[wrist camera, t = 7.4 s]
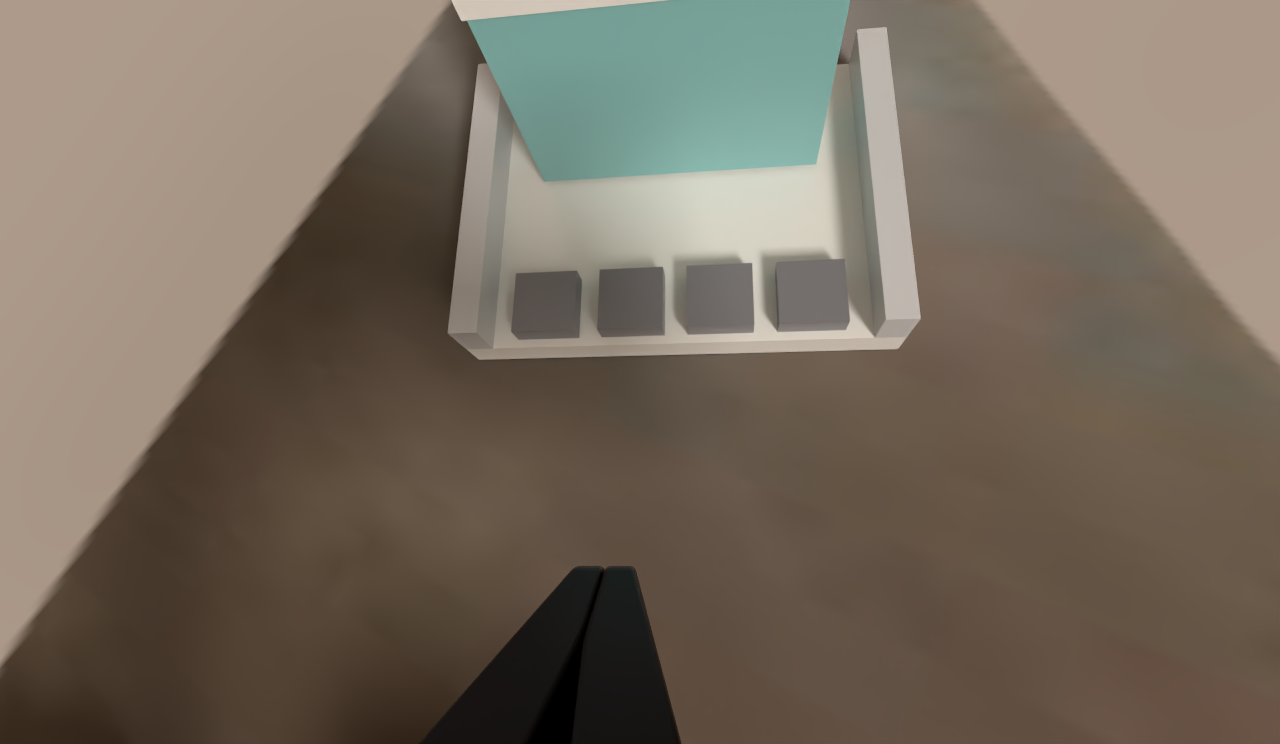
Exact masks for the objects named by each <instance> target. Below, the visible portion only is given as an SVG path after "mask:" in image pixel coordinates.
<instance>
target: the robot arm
mask: <svg viewBox="0 0 1280 744" xmlns="http://www.w3.org/2000/svg"><path fill="white" fill-rule="evenodd" d="M419 744H681V740H680V736H679V733H678V729H677V725H676V721H675V717H674V714H673V710H672V706H671V702H670V698H669V695H668V691H667V687H666V683H665V679H664V676H663V672H662V668H661V664H660V660H659V656H658V653H657V649H656V645H655V641H654V637H653V634H652V630H651V626H650V622H649V618H648V615H647V611H646V607H645V603H644V599H643V596H642V592H641V588H640V584H639V580H638V577H637V573H636V570H635V568H634V567H632V566H609V567H607V568H606V569H604V568H603V567H601V566H578V567H575V568H574V569H572V570H571V571H570V572H569V574H568V575H567V576H566V577H565V578H564V579H563V580H562V582H561V583H560V584H559V585H558V586H557V587H556V588H555V590H554V591H553V592H552V593H551V594H550V595H549V596H548V597H547V599H546V600H545V601H544V602H543V603H542V604H541V605H540V607H539V608H538V609H537V610H536V611H535V612H534V613H533V615H532V616H531V617H530V618H529V619H528V620H527V621H526V622H525V624H524V625H523V626H522V627H521V628H520V629H519V630H518V632H517V633H516V634H515V635H514V636H513V637H512V638H511V640H510V641H509V642H508V643H507V644H506V645H505V646H504V648H503V649H502V650H501V651H500V652H499V653H498V654H497V655H496V657H495V658H494V659H493V660H492V661H491V662H490V663H489V665H488V666H487V667H486V668H485V669H484V670H483V671H482V673H481V674H480V675H479V676H478V677H477V678H476V679H475V680H474V682H473V683H472V684H471V685H470V686H469V687H468V688H467V690H466V691H465V692H464V693H463V694H462V695H461V696H460V698H459V699H458V700H457V701H456V702H455V703H454V704H453V705H452V707H451V708H450V709H449V710H448V711H447V712H446V713H445V715H444V716H443V717H442V718H441V719H440V720H439V721H438V723H437V724H436V725H435V726H434V727H433V728H432V729H431V730H430V732H429V733H428V734H427V735H426V736H425V737H424V738H423V740H422V741H421V742H420V743H419Z"/></svg>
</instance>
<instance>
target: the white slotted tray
mask: <svg viewBox="0 0 1280 744" xmlns="http://www.w3.org/2000/svg"><path fill="white" fill-rule="evenodd" d="M920 319H921V317H920V309H919V300H918V292H917V283H916V275H915V266H914V258H913V249H912V241H911V232H910V224H909V215H908V207H907V198H906V190H905V181H904V173H903V164H902V156H901V147H900V138H899V130H898V121H897V113H896V104H895V96H894V87H893V79H892V70H891V62H890V53H889V45H888V36H887V28H886V27H881V28H870V29H859V30H857V32H856V36H855V40H854V44H853V49H852V53H851V57H850V62H849V64H838V65H837V66H836V71H835V76H834V81H833V86H832V90H831V95H830V100H829V105H828V110H827V115H826V119H825V124H824V129H823V134H822V139H821V143H820V148H819V153H818V158H817V163H816V164H813V165H797V166H781V167H766V168H750V169H734V170H719V171H703V172H687V173H672V174H656V175H640V176H625V177H609V178H593V179H578V180H562V181H546V182H544V180H543V178H542V176H541V174H540V172H539V169H538V167H537V165H536V163H535V161H534V159H533V157H532V155H531V153H530V151H529V149H528V147H527V145H526V142H525V140H524V138H523V136H522V134H521V132H520V130H519V128H518V126H517V124H516V122H515V120H514V118H513V115H512V113H511V111H510V109H509V107H508V105H507V103H506V101H505V99H504V97H503V95H502V93H501V91H500V89H499V86H498V84H497V82H496V80H495V78H494V76H493V74H492V72H491V70H490V68H489V66H488V64H487V63H484V64H478V70H477V78H476V87H475V96H474V105H473V114H472V123H471V131H470V140H469V149H468V158H467V167H466V175H465V184H464V193H463V202H462V211H461V219H460V228H459V237H458V246H457V255H456V264H455V272H454V281H453V290H452V299H451V308H450V316H449V325H448V334H449V335H450V336H451V337H452V338H453V339H455V340H456V341H457V342H458V343H459V344H461V345H462V346H463V347H464V348H465V349H467V350H468V351H469V352H470V353H471V354H473V355H474V356H475V357H476V358H477V359H479V360H487V359H526V358H565V357H604V356H643V355H682V354H721V353H760V352H800V351H839V350H878V349H898V348H899V347H900V345H901V344H902V343H903V341H904V340H905V339H906V337H907V336H908V335H909V333H910V332H911V331H912V330H913V328H914V327H915V326H916V324H917V323H918V322H919V320H920Z"/></svg>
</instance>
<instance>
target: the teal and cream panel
mask: <svg viewBox="0 0 1280 744" xmlns="http://www.w3.org/2000/svg"><path fill="white" fill-rule="evenodd" d="M451 1H452V3H453V5H454V7H455V9H456V11H457V13H458V15H459V17H460V19H461V21H467V22H468V24H469V26H470V28H471V30H472V32H473V35H474V37H475V39H476V41H477V43H478V45H479V47H480V49H481V51H482V53H483V55H484V57H485V59H486V62H487V64H488V66H489V68H490V70H491V72H492V74H493V76H494V78H495V80H496V82H497V84H498V86H499V89H500V91H501V93H502V95H503V97H504V99H505V101H506V103H507V105H508V107H509V109H510V111H511V113H512V115H513V118H514V120H515V122H516V124H517V126H518V128H519V130H520V132H521V134H522V136H523V138H524V140H525V142H526V145H527V147H528V149H529V151H530V153H531V155H532V157H533V159H534V161H535V163H536V165H537V167H538V169H539V172H540V174H541V176H542V178H543V180H544V182H546V181H562V180H578V179H593V178H609V177H625V176H640V175H656V174H672V173H687V172H703V171H719V170H734V169H750V168H766V167H781V166H797V165H813V164H816V163H817V158H818V153H819V148H820V143H821V139H822V134H823V129H824V124H825V119H826V115H827V110H828V105H829V100H830V95H831V90H832V86H833V81H834V76H835V71H836V66H837V62H838V57H839V52H840V47H841V42H842V38H843V33H844V28H845V23H846V18H847V14H848V9H849V4H850V0H451Z"/></svg>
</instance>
